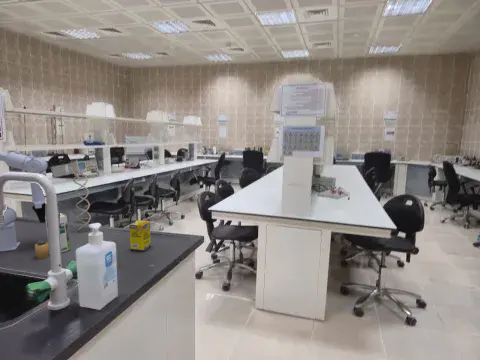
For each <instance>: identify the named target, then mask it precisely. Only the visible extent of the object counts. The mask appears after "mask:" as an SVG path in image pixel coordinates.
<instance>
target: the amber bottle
mask: <svg viewBox="0 0 480 360" xmlns="http://www.w3.org/2000/svg"><path fill="white" fill-rule="evenodd" d="M34 249H35V258H36V259H38V260H44V259H47V258H49V257H50V256H49V252H50V251H49V244H48V241H46V239H40V240H38V241H37V243H35V244H34Z"/></svg>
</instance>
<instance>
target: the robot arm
mask: <svg viewBox="0 0 480 360" xmlns="http://www.w3.org/2000/svg"><path fill="white" fill-rule="evenodd" d="M0 161H1V162H5V164H6V166H8V167H11V168H15V169H18V170H23V171H25V172H26V173H28V172H35V173H40V174H43V175H45V176H47V169H48V162H47V160H45V159H44V158H42V157H36V158H35V157H34V155H26V154H24V153H23V154H22V153H21V151H18V150H16V151H11V152H9V153H8V152H5V151H3V150H2V151H1V150H0ZM29 183H30V189H31V191H30V192H31V198H32V201H31V202H32V204H33V206H31V209H32V210H33V211H34V212H35V214H36V216H37V219H38V221H39V223H41V224H43V223H46V221H45V217H46V216H45V198H44V194H43V191H42V189H41V188H40V186H39V185H38V184H36V183H31V182H30V181H29ZM17 215H18V214H17V211H15V209H14V208H11V207H10V206H8V205H7V209H6V211H5V212H4V224H3V225H0V252H8V251H9V252H10V251H15V250H17V248H18V247H19V245H20V244H21V242H20V241H18V240H17V233H16V226H15V224H16V223H15V221H16V219H17V218H18V216H17ZM17 241H18V242H17Z"/></svg>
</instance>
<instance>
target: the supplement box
mask: <svg viewBox="0 0 480 360" xmlns="http://www.w3.org/2000/svg"><path fill="white" fill-rule="evenodd" d="M129 242H130V244H129V245H130V251H131V250H133V251H132V252H143V253H144V252H146V250H148V249H149V248H151V246H152V244H151V243H152V242H151V221H149V220H138V219H136V221H135V222H132V223H129Z"/></svg>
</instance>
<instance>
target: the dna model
mask: <svg viewBox="0 0 480 360" xmlns="http://www.w3.org/2000/svg"><path fill="white" fill-rule="evenodd" d="M72 170H73V171H75V172H76V173H78V174H77V175H76V176H75V177H73V179H72V181H73V183H74V184H76V185H78V186H79V188H77V189H76V190H75V191H74V193H73V194H74V195H75V196H76V197H78V198H80V201H78V202H77V203H76V204H75V207H76V208H77V209H79V210H81V211H82V212H81V213H80V214H78V215H77V216H76V220H77V221H80V222H82V223H83V225H82V226H80V227H79V228H78V229H77V232H79V231H80V230H81V229H82V228H83V227H85V226H86V225H87V226H88V225H90V223H89V222H90V221H91V219H92V216H91V214H90V213H89V211H88V210H89V209H90V206H91V204H90V201H89V200H88V199H86V198H87V197H88V196H89V195H90V191H89V189H88V188H87V187H86V185H87V183H88V181H89V178H88V177H87V175H85V174H84V173H85V172H86V170H87V167H85V168H84V170H82V171H80V170H77V169H75V168H74V167H72ZM81 175H82V176H83V177H84V178H85V179H81V180H80V179H79V180H78V179H77V178H78V177H79V176H81ZM76 179H77V180H76ZM80 182H84V183H83V184H82V183H80ZM81 188H84V190H86V192H81V193H79V192H78V191H79V190H80V189H81ZM77 192H78V193H77ZM85 194H86V195H85ZM81 195H85V196H84V197H83V196H81ZM83 201H86V203H87V204H88V205H86V207H87V208H86V209H84V208H81V207H80V205H79V204H81V202H83ZM84 213H86V214H88V216H89V217H86V218H83V217H82V218H80V217H81V216H82V215H83V214H84ZM86 219H87V222H86V221H84V220H86Z"/></svg>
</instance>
